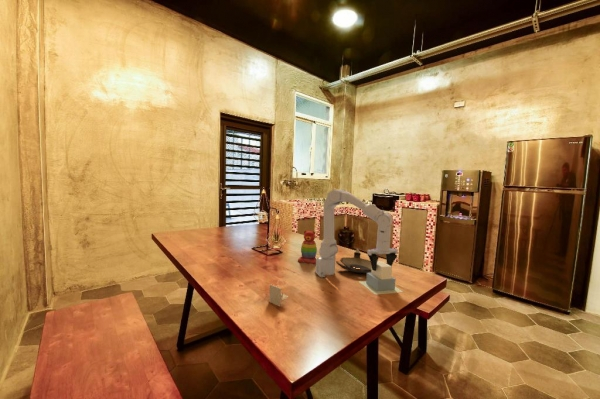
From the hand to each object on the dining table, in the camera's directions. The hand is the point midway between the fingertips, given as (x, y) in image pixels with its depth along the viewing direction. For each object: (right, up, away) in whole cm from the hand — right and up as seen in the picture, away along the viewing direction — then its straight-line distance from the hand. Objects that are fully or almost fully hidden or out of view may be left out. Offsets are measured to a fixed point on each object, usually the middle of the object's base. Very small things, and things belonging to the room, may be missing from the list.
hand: (381, 269), depth 117 cm
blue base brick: (0, -8, +1) cm, 8 cm away
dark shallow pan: (-5, -7, +25) cm, 26 cm away
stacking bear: (-32, -5, +36) cm, 48 cm away
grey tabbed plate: (-46, -9, -17) cm, 50 cm away
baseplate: (0, -9, +1) cm, 9 cm away
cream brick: (0, -3, 0) cm, 3 cm away
